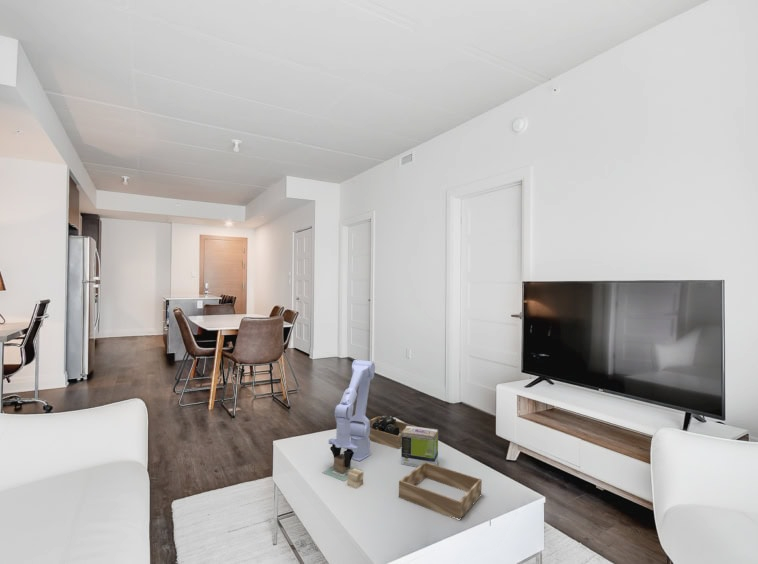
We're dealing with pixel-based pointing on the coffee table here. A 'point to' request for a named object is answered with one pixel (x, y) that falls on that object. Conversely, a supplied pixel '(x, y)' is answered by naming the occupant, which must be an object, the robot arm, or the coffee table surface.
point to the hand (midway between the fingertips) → (342, 464)
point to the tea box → (419, 446)
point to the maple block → (355, 478)
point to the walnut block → (340, 463)
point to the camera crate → (387, 434)
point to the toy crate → (436, 500)
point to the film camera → (386, 425)
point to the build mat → (338, 473)
